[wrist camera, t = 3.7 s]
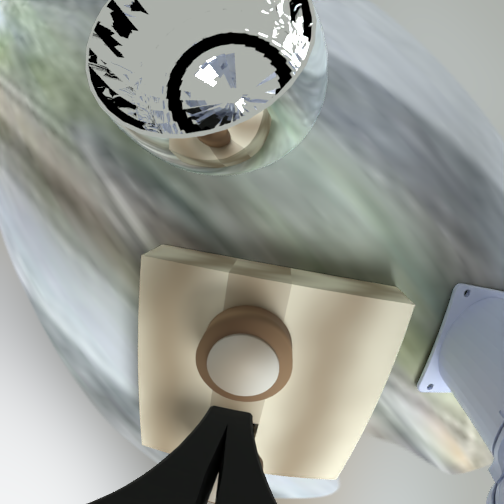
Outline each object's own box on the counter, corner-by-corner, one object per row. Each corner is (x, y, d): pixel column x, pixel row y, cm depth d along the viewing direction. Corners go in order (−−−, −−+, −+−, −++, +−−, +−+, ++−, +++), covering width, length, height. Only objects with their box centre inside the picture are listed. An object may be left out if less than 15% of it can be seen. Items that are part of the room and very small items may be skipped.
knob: (298, 293, 18) (303, 334, 13) (282, 359, 19) (281, 412, 14) (221, 279, 18) (198, 314, 13) (212, 345, 19) (190, 394, 14)
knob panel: (396, 286, 17) (414, 304, 14) (332, 451, 20) (336, 479, 17) (162, 244, 18) (141, 255, 15) (155, 419, 21) (142, 444, 18)
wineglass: (321, 102, 16) (380, -29, 4) (281, 196, 17) (277, 222, 5) (224, 68, 16) (141, -71, 4) (185, 158, 17) (31, 128, 5)
